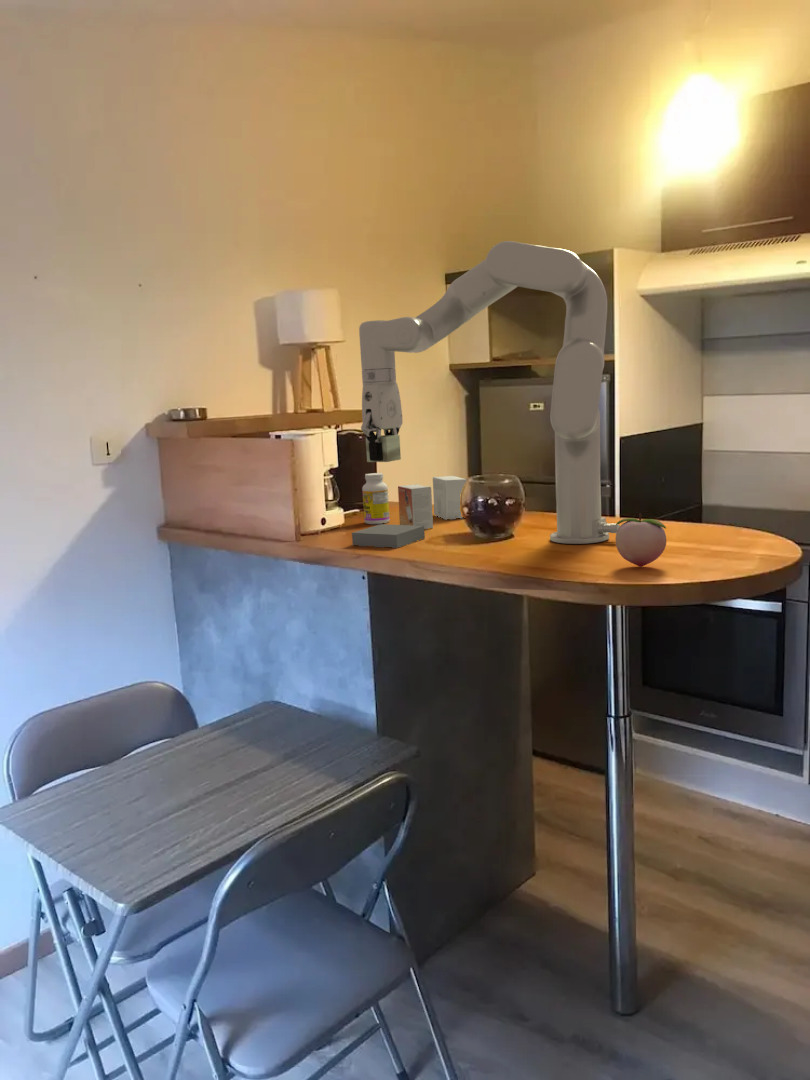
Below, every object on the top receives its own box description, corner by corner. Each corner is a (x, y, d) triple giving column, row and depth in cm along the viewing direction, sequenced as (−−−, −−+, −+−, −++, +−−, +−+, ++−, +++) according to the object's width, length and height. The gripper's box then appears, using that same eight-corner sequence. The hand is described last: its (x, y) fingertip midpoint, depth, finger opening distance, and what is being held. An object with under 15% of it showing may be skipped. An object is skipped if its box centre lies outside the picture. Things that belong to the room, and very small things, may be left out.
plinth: (424, 538, 212) (424, 525, 211) (397, 548, 202) (396, 534, 201) (381, 536, 218) (380, 524, 218) (352, 545, 208) (351, 532, 208)
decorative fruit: (610, 571, 167) (609, 517, 165) (619, 562, 174) (618, 510, 172) (663, 573, 163) (663, 517, 161) (670, 563, 170) (669, 510, 169)
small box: (399, 527, 231) (397, 485, 229) (419, 524, 233) (417, 483, 231) (413, 531, 223) (410, 488, 222) (433, 528, 226) (431, 486, 224)
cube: (400, 459, 208) (399, 435, 207) (387, 461, 203) (386, 437, 202) (380, 459, 211) (379, 435, 210) (367, 462, 206) (365, 437, 205)
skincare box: (469, 518, 239) (467, 478, 237) (445, 520, 237) (443, 480, 235) (456, 513, 249) (454, 474, 247) (433, 515, 247) (431, 476, 245)
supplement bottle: (362, 522, 243) (359, 473, 240) (386, 519, 244) (383, 471, 242) (367, 525, 236) (364, 476, 234) (392, 523, 238) (389, 474, 235)
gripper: (371, 378, 195) (377, 463, 198) (413, 375, 209) (417, 455, 212) (343, 379, 199) (348, 463, 202) (385, 377, 213) (390, 455, 216)
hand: (383, 458), depth 207 cm, fingers closed on cube, 5 cm apart
